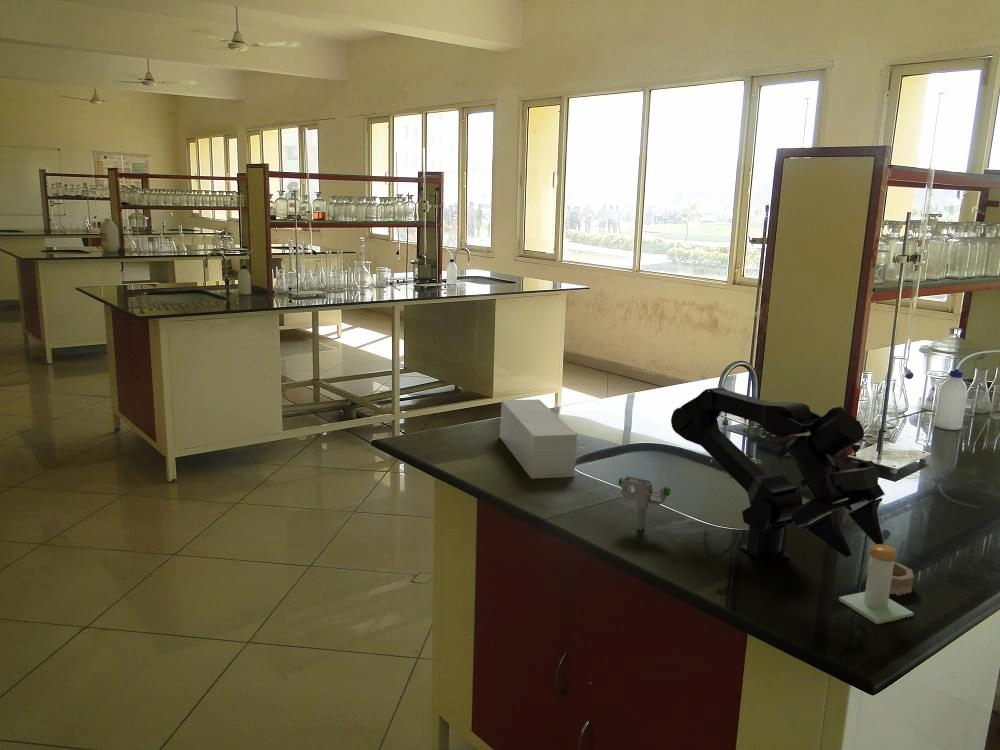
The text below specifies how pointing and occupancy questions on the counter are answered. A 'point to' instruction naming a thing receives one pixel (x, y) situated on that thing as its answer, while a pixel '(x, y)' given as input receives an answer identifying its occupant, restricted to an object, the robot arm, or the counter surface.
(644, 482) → the mechanical component
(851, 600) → the mat
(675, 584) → the counter surface
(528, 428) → the stack of papers
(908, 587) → the beige hollow ring
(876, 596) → the bottle with orange cap
